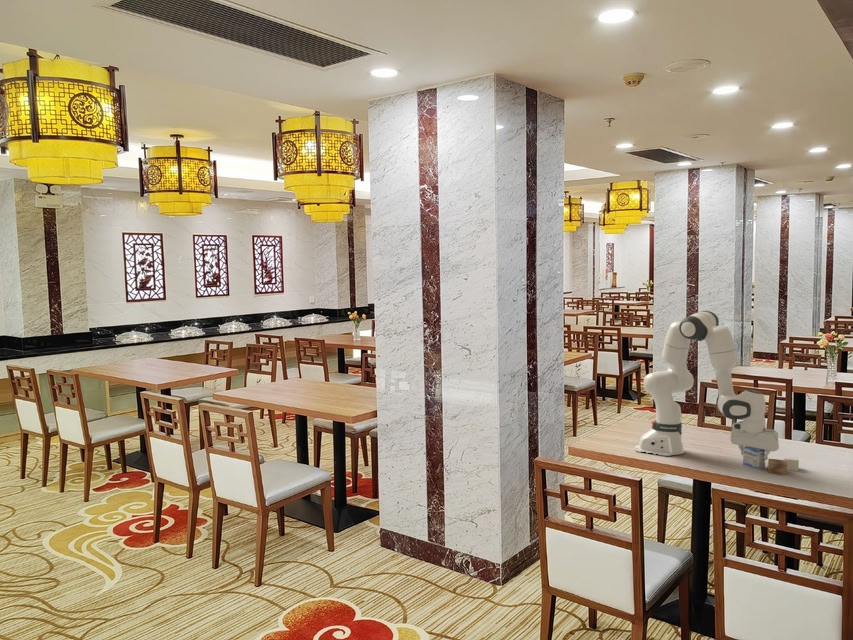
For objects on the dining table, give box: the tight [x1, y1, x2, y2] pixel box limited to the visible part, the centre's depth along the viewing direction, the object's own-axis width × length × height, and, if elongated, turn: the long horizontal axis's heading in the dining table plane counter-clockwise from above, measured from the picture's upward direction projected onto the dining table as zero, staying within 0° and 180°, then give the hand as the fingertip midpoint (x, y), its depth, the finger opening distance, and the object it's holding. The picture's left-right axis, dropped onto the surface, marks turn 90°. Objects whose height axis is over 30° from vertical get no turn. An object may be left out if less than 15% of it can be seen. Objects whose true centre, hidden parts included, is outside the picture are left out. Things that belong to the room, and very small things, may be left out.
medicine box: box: [742, 446, 766, 470], centre depth 295 cm, size 8×4×9 cm, turn 30°
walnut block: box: [767, 458, 788, 476], centre depth 286 cm, size 7×7×5 cm
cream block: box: [783, 455, 800, 472], centre depth 291 cm, size 5×5×5 cm
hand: (754, 457), depth 295 cm, fingers open, 8 cm apart
